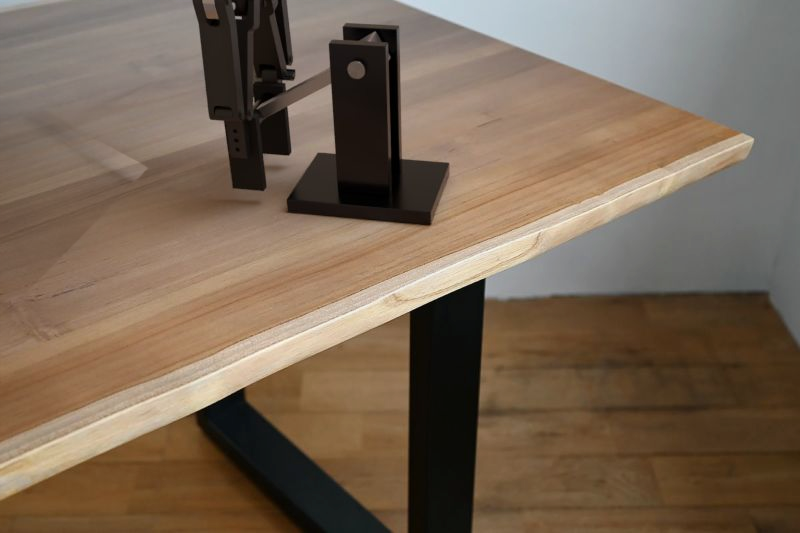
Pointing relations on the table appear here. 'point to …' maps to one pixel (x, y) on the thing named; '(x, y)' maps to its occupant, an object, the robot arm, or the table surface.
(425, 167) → the bracket
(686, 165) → the table surface
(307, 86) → the lever
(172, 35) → the table surface
